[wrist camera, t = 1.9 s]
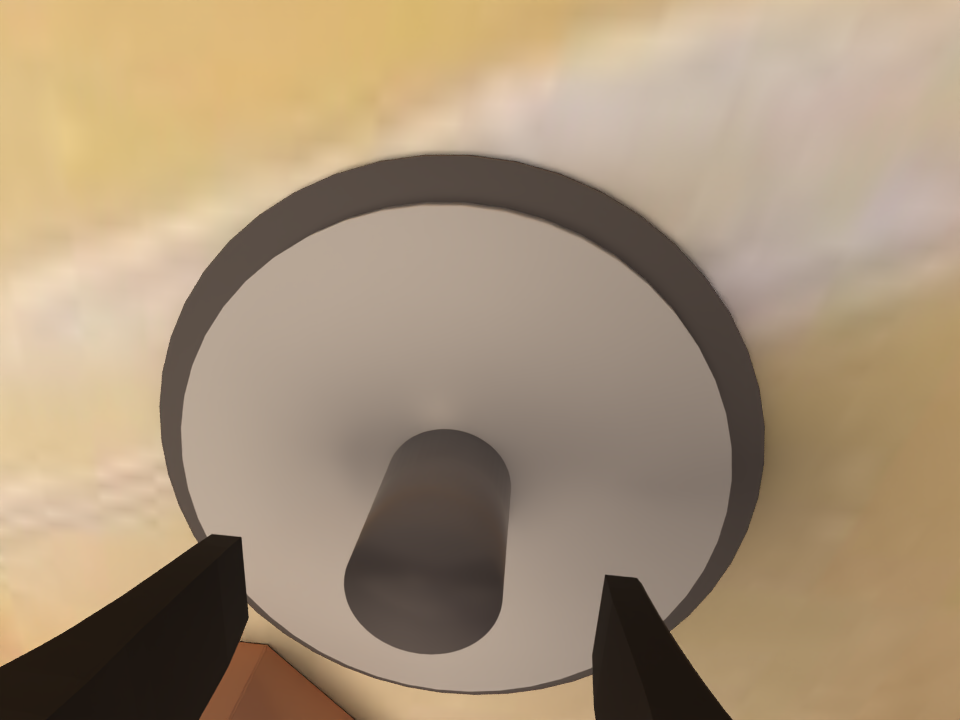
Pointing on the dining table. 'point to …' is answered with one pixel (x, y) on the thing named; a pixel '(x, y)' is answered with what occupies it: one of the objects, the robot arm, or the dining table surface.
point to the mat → (520, 193)
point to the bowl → (267, 690)
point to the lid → (455, 443)
